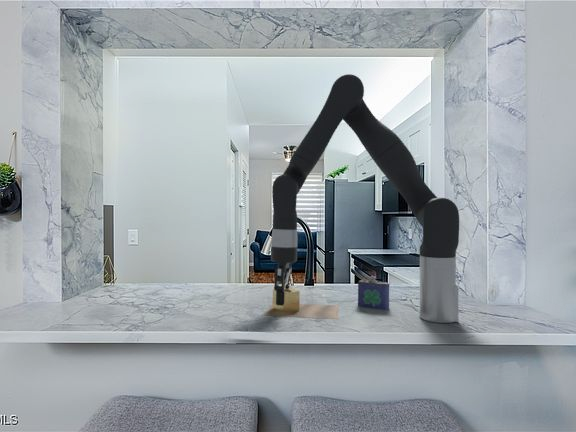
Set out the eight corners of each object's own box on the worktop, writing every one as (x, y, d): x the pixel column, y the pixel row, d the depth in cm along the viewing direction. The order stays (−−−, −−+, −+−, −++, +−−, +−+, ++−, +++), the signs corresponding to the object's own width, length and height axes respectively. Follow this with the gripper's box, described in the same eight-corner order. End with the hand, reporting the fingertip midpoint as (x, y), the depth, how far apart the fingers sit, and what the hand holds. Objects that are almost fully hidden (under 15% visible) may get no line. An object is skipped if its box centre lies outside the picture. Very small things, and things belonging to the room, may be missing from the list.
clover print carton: (390, 313, 102) (389, 276, 102) (388, 315, 100) (387, 277, 100) (359, 309, 106) (359, 274, 106) (356, 311, 104) (356, 275, 104)
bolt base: (338, 310, 105) (338, 292, 105) (338, 324, 91) (338, 303, 91) (273, 307, 108) (273, 290, 108) (263, 321, 94) (263, 300, 94)
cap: (299, 310, 99) (299, 289, 99) (282, 313, 96) (282, 291, 96) (289, 306, 104) (289, 286, 104) (272, 308, 101) (272, 288, 101)
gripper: (293, 247, 93) (292, 308, 93) (300, 243, 107) (298, 296, 107) (266, 246, 94) (264, 306, 94) (276, 242, 108) (274, 295, 108)
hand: (282, 301), depth 100 cm, fingers open, 8 cm apart
